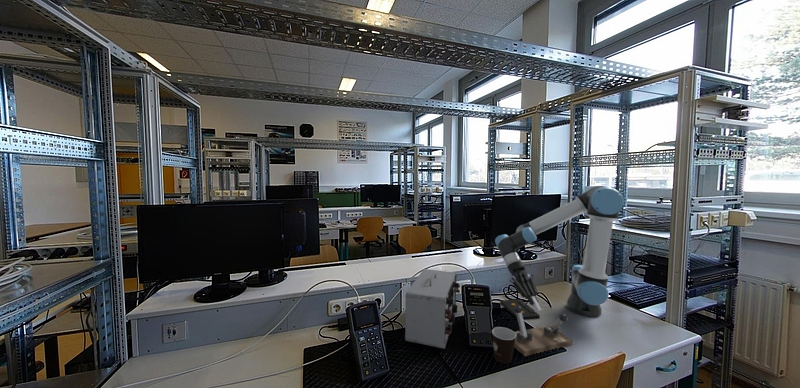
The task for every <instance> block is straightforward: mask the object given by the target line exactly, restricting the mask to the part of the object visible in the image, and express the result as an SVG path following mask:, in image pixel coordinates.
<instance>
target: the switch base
mask: <svg viewBox="0 0 800 388" xmlns="http://www.w3.org/2000/svg"><path fill="white" fill-rule="evenodd" d="M550 326H551V325H550V324H548V325H544V326H539V327H533V328H529V329H526V332H527V334H528V338H525V339H523V335H522V334H521V332H520V330H517V331H513V332H514V333H515V334H516V339H515V345H514V349H515V348H516V350H517V351H518V352H519V353H520V354H521V353H522V354H523V355H522V354H521V355H522V356H524V357H529V356H532V354H533V355H535V354H536V353H537V354H540V352H541V353H544V351H545V352H549V351H552V349H553V350H556V349H555V348H557V349H561V348H564V347H569V346H572V345H573V340H572V339H571V338H569V337H568V336H567V335H565V334H563V333H561V331H559V329H560V328H559V327H558V328H557V329H556V330H555V332H552V333H551V330H550V329H549V327H550ZM560 347H561V348H560ZM548 350H549V351H548Z"/></svg>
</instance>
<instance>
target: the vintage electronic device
mask: <svg viewBox="0 0 800 388" xmlns="http://www.w3.org/2000/svg"><path fill="white" fill-rule="evenodd" d="M460 287H461V286H460V283H459V282H457V272H453V271H446V270H437V269H427V268H423V269H422V271H421V272H420V273H419V275H418V276H417V278H416V279H415V280H414V282H413V283H412V284H411V285H410V287H409V288H408V290H407V291H406V292H405V305H404V306H405V307H404V308H405V312H404V313H405V317H404V318H405V319H404V320H405V322H404V323H405V332H404V333H405V334H404V340H405V341H406V342H408V343H410V344H419V345H420V344H421V345H425V346H429V347H435V348H437V349H438V350H442V349H446V346H447V343H448V340H449V336H450V335H451V334H452V332H453V331H452V330H453V327H452V326H453V324H454V323H455V321H456V314H457V313H458V305H457V293H459V294H460V292H461V291H460V289H459V288H460ZM457 288H458V289H457Z"/></svg>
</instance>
